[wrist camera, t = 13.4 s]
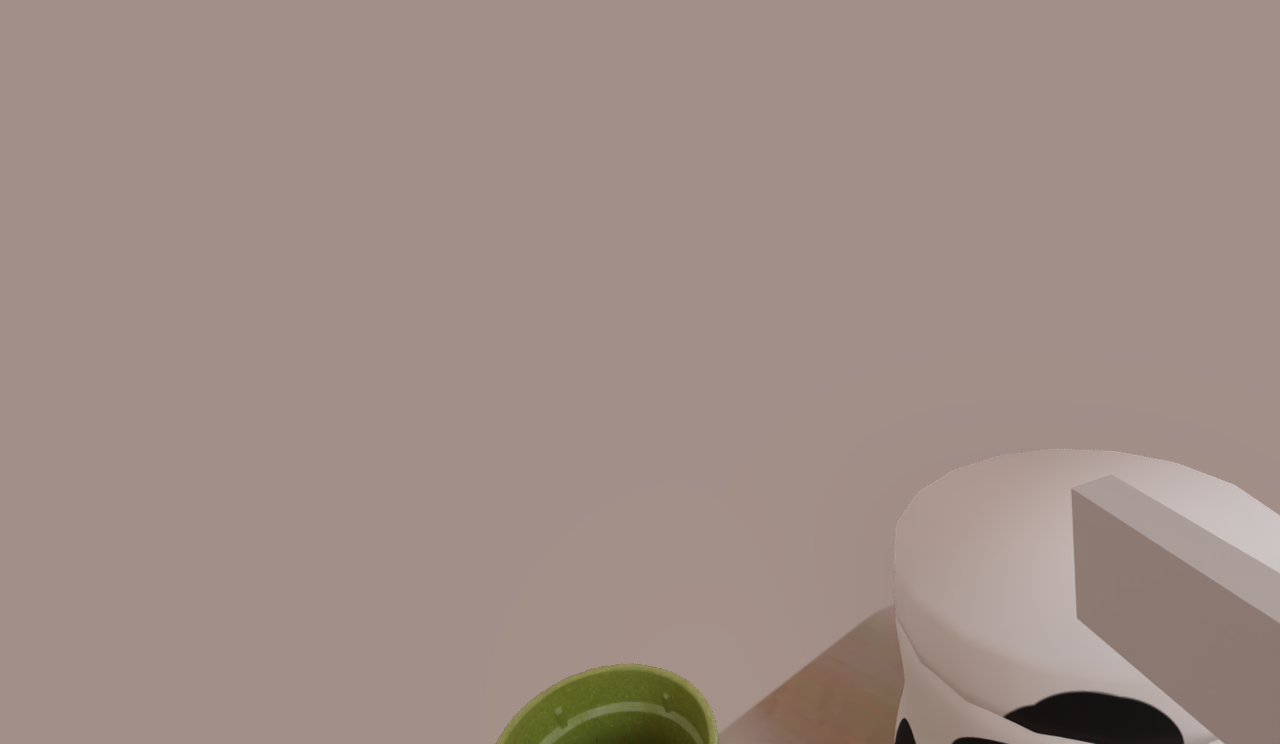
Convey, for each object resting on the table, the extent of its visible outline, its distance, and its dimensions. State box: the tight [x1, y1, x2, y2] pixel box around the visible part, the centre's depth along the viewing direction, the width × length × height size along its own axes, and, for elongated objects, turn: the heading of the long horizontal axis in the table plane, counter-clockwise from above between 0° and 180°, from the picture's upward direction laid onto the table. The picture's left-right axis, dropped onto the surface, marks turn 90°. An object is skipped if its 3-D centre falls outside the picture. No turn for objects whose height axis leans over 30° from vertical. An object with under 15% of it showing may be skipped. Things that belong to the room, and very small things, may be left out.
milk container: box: [894, 448, 1280, 744], centre depth 37 cm, size 17×17×18 cm
